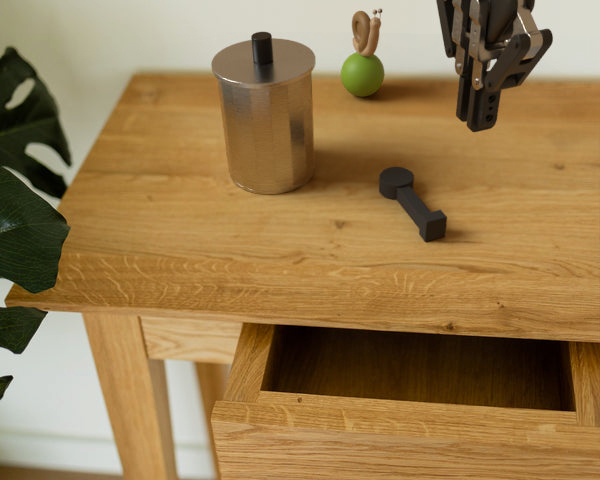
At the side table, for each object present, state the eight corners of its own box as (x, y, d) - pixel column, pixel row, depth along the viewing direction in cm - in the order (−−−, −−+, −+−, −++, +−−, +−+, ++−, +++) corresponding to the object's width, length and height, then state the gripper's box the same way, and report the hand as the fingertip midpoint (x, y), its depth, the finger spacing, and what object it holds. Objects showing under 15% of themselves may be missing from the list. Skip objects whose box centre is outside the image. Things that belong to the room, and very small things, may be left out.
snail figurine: (356, 111, 93) (357, 14, 85) (333, 90, 98) (332, -4, 90) (395, 101, 95) (399, 5, 87) (371, 80, 99) (373, -13, 91)
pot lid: (296, 41, 81) (294, 7, 79) (330, 82, 74) (330, 46, 71) (201, 59, 79) (197, 25, 77) (227, 103, 72) (223, 67, 69)
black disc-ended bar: (404, 177, 82) (405, 158, 81) (451, 235, 74) (454, 215, 73) (373, 185, 81) (374, 165, 80) (418, 243, 74) (419, 223, 72)
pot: (298, 141, 89) (293, 38, 80) (326, 183, 82) (324, 75, 74) (220, 158, 87) (206, 54, 78) (243, 202, 80) (230, 94, 72)
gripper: (619, -99, 45) (564, 155, 57) (502, -147, 55) (475, 78, 66) (507, -81, 43) (474, 176, 55) (406, -134, 53) (396, 95, 65)
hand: (474, 122), depth 61 cm, fingers closed
